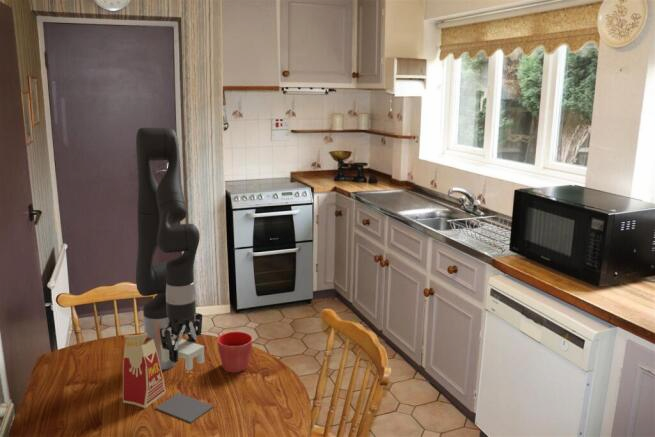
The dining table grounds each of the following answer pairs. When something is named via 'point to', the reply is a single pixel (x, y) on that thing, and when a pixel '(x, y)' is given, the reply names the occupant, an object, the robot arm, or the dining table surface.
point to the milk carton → (141, 372)
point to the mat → (184, 407)
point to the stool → (186, 353)
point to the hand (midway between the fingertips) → (183, 356)
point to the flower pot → (235, 350)
